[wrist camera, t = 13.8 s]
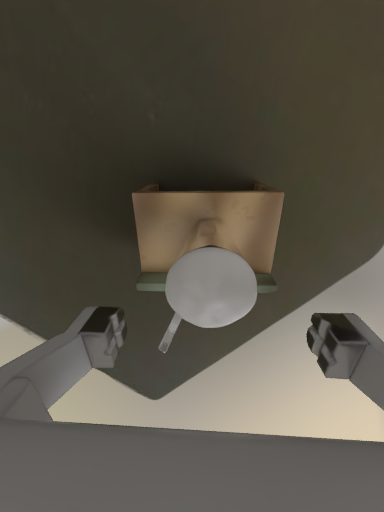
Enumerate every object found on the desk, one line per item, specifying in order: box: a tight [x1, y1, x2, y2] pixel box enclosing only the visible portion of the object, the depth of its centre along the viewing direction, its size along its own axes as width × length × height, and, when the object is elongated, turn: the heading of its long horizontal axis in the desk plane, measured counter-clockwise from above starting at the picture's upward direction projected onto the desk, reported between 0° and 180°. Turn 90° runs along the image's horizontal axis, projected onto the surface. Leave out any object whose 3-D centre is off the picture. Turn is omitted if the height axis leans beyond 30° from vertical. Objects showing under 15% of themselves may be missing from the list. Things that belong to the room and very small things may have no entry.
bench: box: [132, 183, 284, 293], centre depth 20 cm, size 12×8×9 cm, turn 91°
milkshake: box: [158, 219, 257, 353], centre depth 13 cm, size 4×5×10 cm
